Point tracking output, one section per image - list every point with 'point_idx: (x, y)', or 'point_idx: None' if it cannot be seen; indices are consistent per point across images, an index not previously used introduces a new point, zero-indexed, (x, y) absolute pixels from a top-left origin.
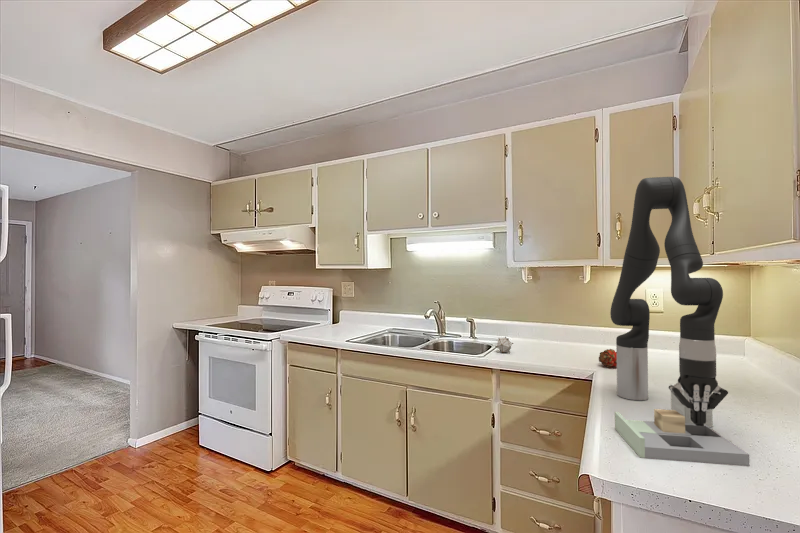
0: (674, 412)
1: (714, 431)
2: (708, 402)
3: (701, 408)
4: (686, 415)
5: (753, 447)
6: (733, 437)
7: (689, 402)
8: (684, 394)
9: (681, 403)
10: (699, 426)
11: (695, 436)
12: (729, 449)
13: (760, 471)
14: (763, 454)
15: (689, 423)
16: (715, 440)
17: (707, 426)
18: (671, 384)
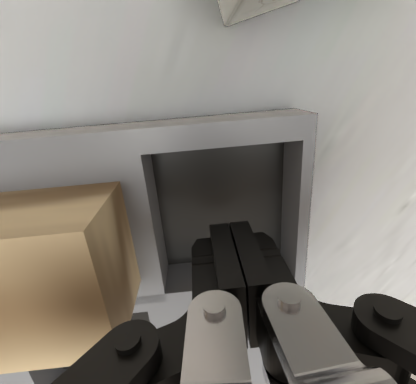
0: (64, 291)
1: (303, 217)
2: (397, 374)
3: (264, 377)
4: (249, 1)
5: (408, 216)
6: (409, 118)
7: (178, 382)
8: None
9: (103, 338)
10: (266, 143)
11: (175, 303)
12: (251, 379)
13: None
14: (392, 269)
15: (258, 12)
16: None
17: (310, 148)
18: None
